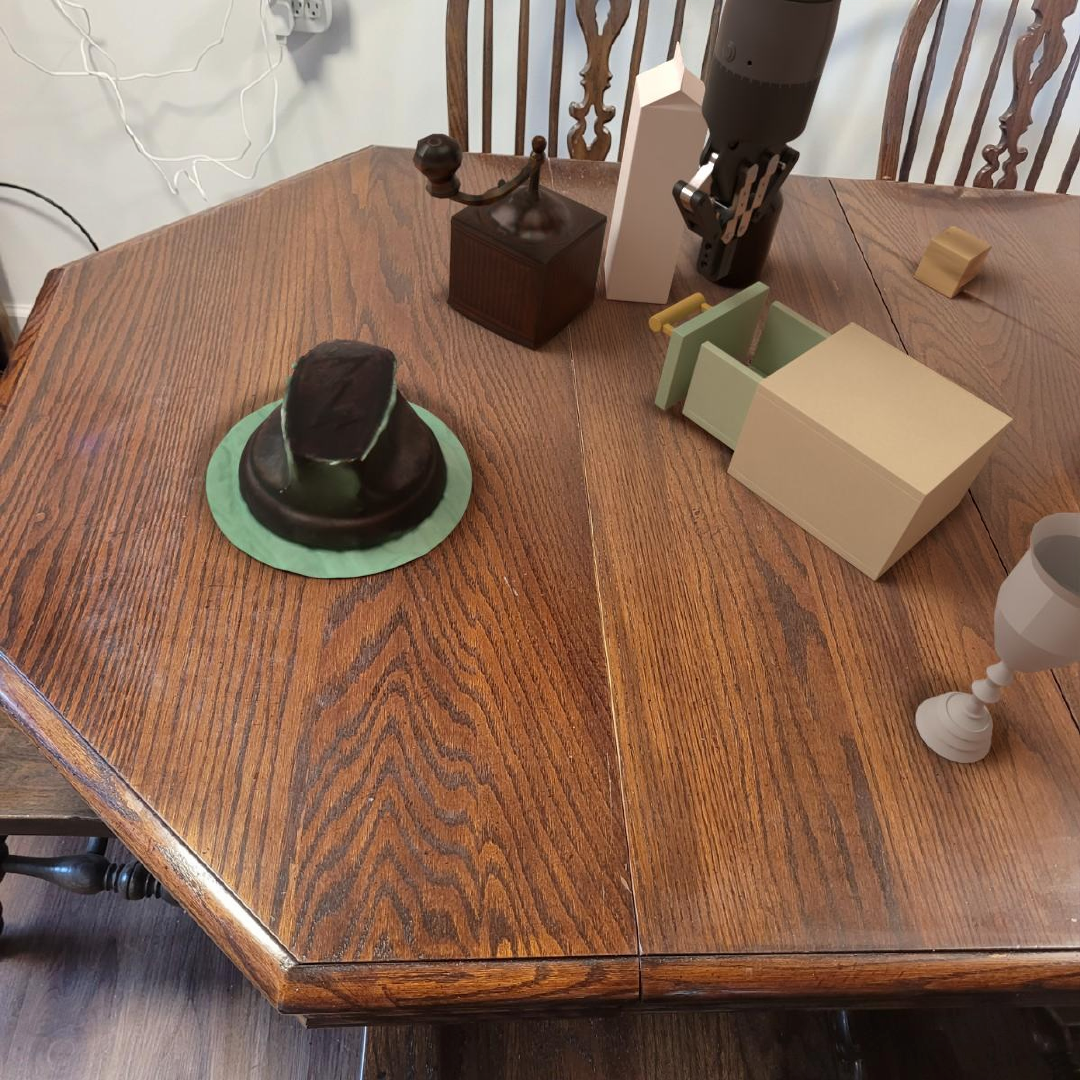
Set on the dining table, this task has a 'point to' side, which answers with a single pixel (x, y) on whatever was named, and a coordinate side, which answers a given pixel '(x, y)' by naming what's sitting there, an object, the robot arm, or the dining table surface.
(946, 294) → the block
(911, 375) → the cabinet
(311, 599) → the dining table surface
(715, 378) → the drawer
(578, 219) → the brown coffee grinder
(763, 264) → the supplement bottle
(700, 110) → the milk
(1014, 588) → the chalice
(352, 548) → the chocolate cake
